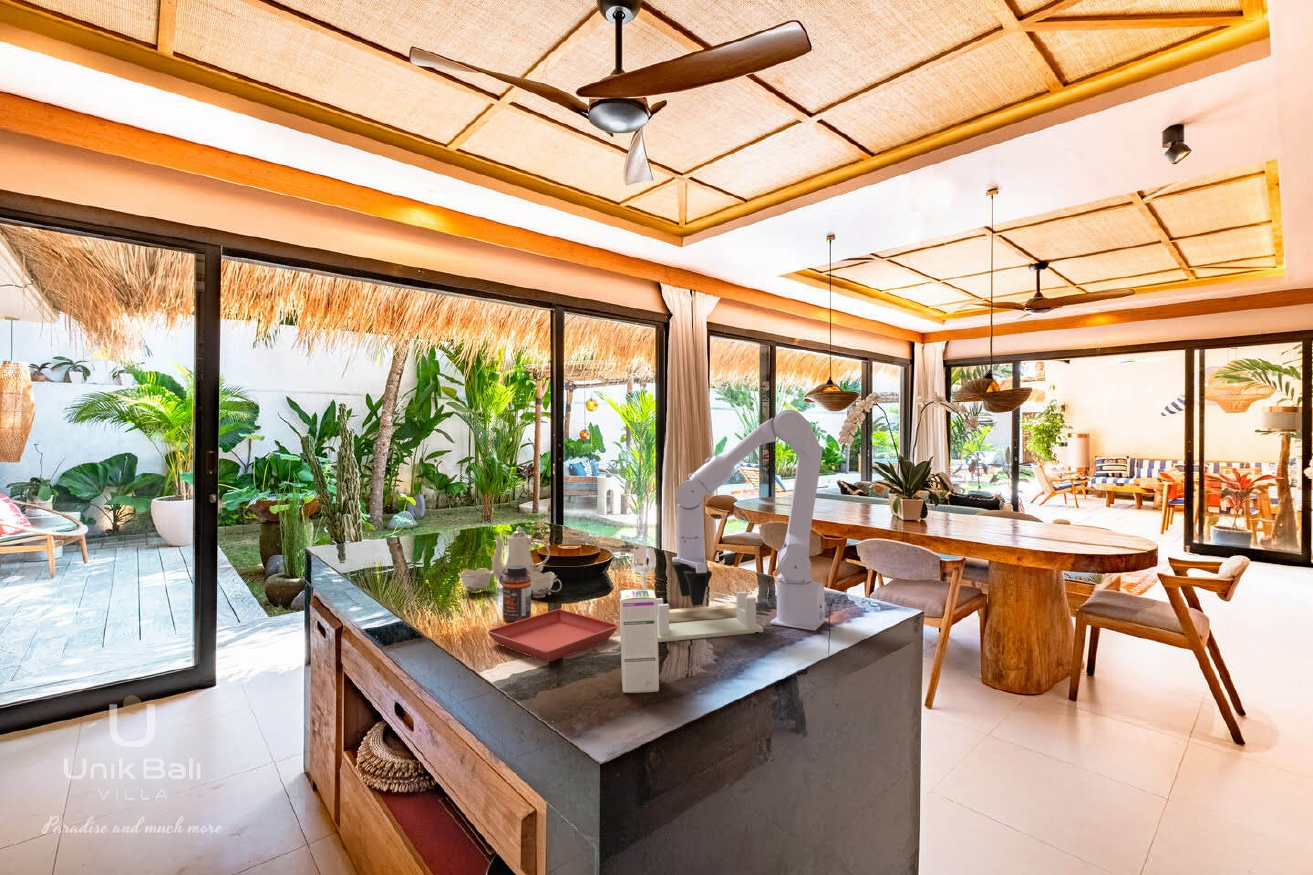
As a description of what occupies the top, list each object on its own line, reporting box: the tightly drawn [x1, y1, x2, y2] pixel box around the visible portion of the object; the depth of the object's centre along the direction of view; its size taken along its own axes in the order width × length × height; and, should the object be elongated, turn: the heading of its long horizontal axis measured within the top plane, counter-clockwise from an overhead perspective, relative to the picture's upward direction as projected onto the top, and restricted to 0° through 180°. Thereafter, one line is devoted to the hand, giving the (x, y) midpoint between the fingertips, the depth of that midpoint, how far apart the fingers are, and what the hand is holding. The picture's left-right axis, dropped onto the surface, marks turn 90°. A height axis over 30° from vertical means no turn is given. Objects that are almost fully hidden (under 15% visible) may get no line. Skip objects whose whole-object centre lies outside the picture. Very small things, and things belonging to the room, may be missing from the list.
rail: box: [669, 604, 737, 624], centre depth 131 cm, size 22×2×2 cm, turn 103°
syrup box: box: [619, 588, 660, 694], centre depth 96 cm, size 6×6×14 cm
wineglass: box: [631, 545, 657, 589], centre depth 149 cm, size 6×6×12 cm
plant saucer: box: [487, 608, 619, 663], centre depth 117 cm, size 18×18×3 cm
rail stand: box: [656, 591, 764, 643], centre depth 123 cm, size 22×8×6 cm, turn 104°
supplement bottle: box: [502, 565, 532, 623], centre depth 132 cm, size 6×6×11 cm
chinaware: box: [457, 525, 562, 599], centre depth 156 cm, size 28×17×17 cm, turn 80°
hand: (691, 599), depth 131 cm, fingers open, 7 cm apart
